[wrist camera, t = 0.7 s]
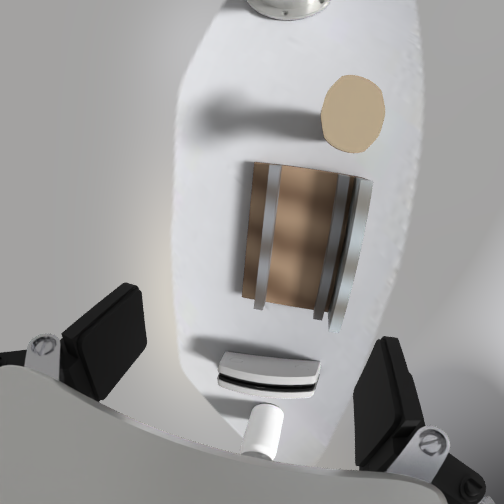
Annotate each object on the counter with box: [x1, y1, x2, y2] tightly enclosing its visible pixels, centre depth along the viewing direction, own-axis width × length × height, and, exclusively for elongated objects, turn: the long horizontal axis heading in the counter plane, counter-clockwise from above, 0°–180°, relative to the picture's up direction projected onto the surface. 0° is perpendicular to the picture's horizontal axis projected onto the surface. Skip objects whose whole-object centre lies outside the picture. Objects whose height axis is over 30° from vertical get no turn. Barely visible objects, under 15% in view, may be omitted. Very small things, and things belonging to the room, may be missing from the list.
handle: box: [321, 75, 385, 153], centre depth 26 cm, size 5×6×15 cm
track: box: [242, 162, 373, 333], centre depth 35 cm, size 19×14×6 cm
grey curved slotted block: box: [217, 351, 321, 399], centre depth 42 cm, size 17×5×10 cm, turn 90°
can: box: [240, 403, 284, 461], centre depth 45 cm, size 6×6×12 cm
